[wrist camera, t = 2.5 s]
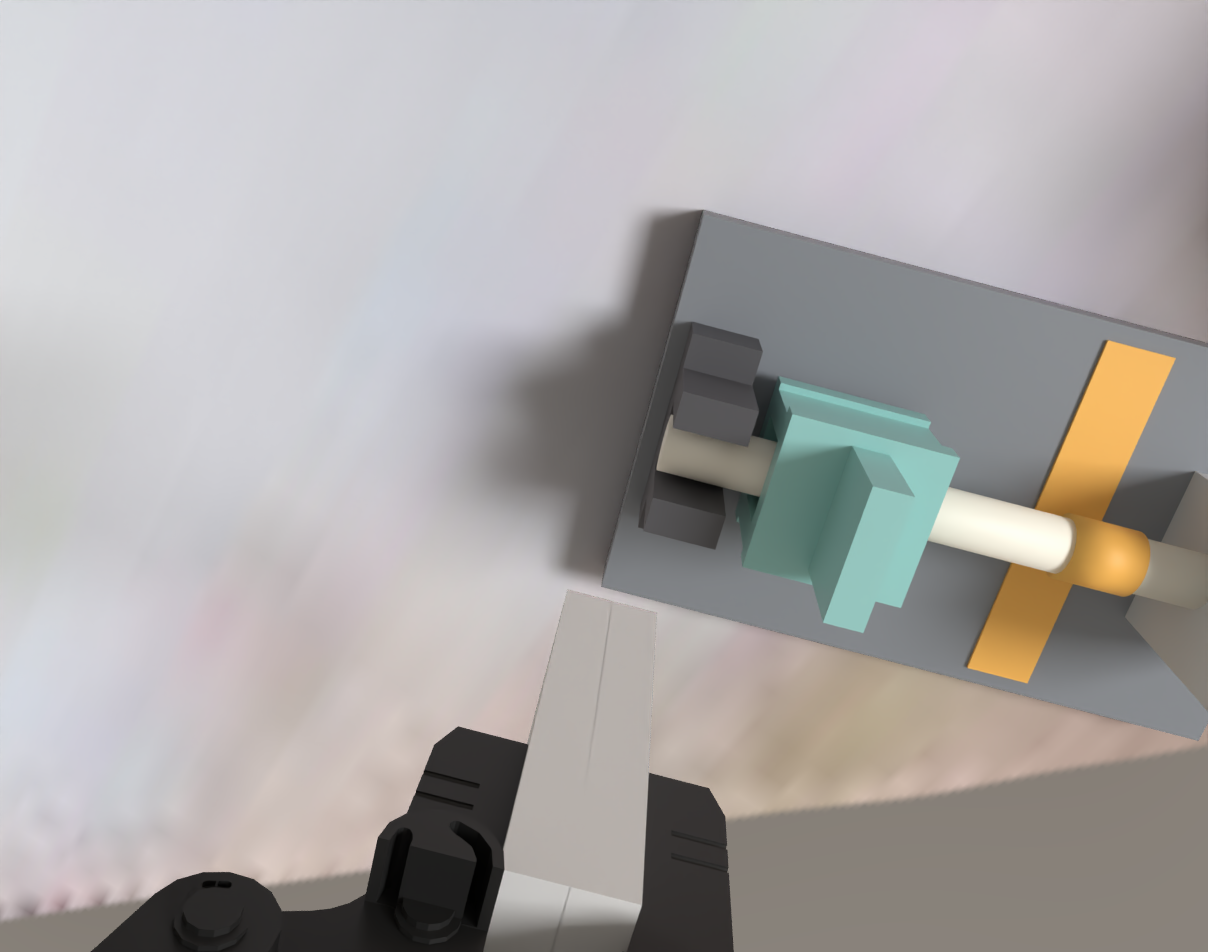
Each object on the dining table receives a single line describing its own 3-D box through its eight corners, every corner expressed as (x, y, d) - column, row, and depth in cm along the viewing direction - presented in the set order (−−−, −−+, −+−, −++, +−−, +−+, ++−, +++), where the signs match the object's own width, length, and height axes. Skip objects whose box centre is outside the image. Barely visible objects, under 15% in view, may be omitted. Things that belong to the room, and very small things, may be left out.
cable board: (703, 209, 30) (709, 237, 23) (1352, 381, 30) (1541, 457, 24) (604, 567, 34) (585, 677, 27) (1177, 715, 34) (1296, 859, 28)
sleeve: (778, 375, 30) (806, 451, 23) (924, 414, 30) (994, 500, 23) (735, 511, 31) (749, 619, 24) (874, 548, 31) (926, 665, 24)
